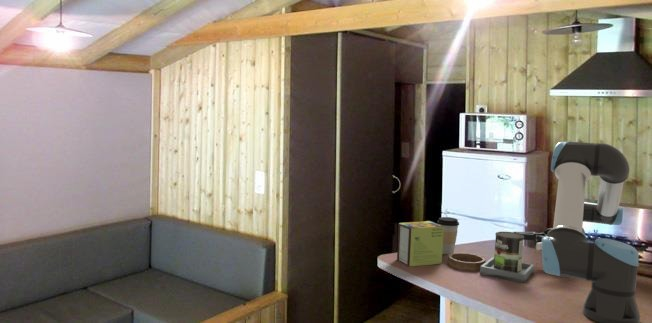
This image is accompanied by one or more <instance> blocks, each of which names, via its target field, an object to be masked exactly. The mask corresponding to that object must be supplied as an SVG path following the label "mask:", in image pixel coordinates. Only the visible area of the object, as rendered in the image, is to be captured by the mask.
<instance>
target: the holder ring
mask: <svg viewBox="0 0 652 323" xmlns="http://www.w3.org/2000/svg"><path fill="white" fill-rule="evenodd" d="M447 257H448V258H447V264H448V265H449V267H452V268H454V269H458V270H461V271H462V270H463V271H474V272H475V271H480V266H482V265H483V264H484V263H486V262H487V261H486V258H485V257H484V256H481V255H479V254H474V253H470V252H454V253H452V254H450V255H448V256H447ZM461 260H465V261H461Z"/></svg>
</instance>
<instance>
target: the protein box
mask: <svg viewBox="0 0 652 323" xmlns="http://www.w3.org/2000/svg"><path fill="white" fill-rule="evenodd" d="M443 231H444V226H441V225H439V224H438V223H437V222H434V221H431V220H426V221H409V222H399V223H398V227H397V250H396V251H397V252H396V260H397V261H399V262H400V263H402V264H404V265H405V266H408V267H419V266H420V267H421V266H429V265H439V264H440V265H442V263H443V254H442V249H443Z"/></svg>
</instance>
